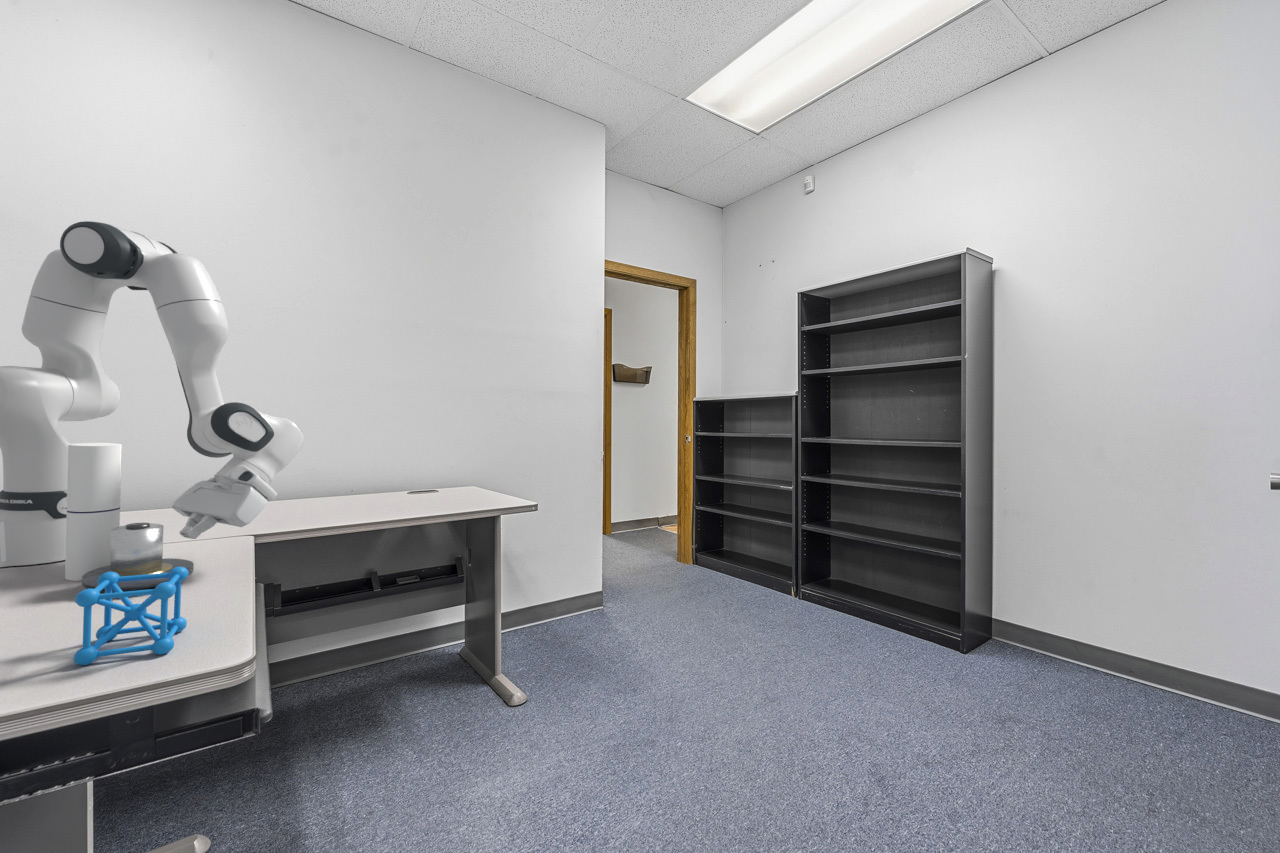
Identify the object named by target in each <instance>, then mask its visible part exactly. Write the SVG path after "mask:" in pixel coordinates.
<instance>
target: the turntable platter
mask: <svg viewBox="0 0 1280 853" xmlns="http://www.w3.org/2000/svg"><path fill="white" fill-rule="evenodd" d="M175 567H185V568H186V569H187V570H188V576H190V575H191V574H192V573H193V572H194V567H195V566H194V562H193V561H191V560H187V559H181V558H162V569H161V570H159V571H157V572H154V573H150V574H160V573H169V572H170V571H171V570H172V569H173V568H175ZM106 572H110V565H109V566H104V567H101V568H97V569H94V570H92V571H89V572H87V573H86V574H84V575H83V576H82V580H81V586H82V587H83V588H85V589H94V588H96V587H97V586H98V583H97V581H98V578H99V577H100V576H101V575H102V574H104V573H106ZM146 575H147V574H146ZM168 580H169V578H160V579H148V580H136V581H124V582H119V583H118V584H117V585H118V586H119V587H120V589H121V590H124V589H134V588H142V587H149V586H154V585H159V584H161V583H164V582H167V581H168ZM102 590H105V588H103V589H102ZM102 590H101V591H102Z"/></svg>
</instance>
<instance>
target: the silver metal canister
mask: <svg viewBox="0 0 1280 853" xmlns="http://www.w3.org/2000/svg"><path fill="white" fill-rule="evenodd" d="M163 548H164V524H161V523H150V522H133V523H127V524H126V525H120V527H115V528H113V529H111V547H110V572H115V573H117V574H119V576H120V577H122V576H135V575H146V574H150V573H154V572H157V571H159V570H161V569H162V559H163V552H164V550H163Z"/></svg>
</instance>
